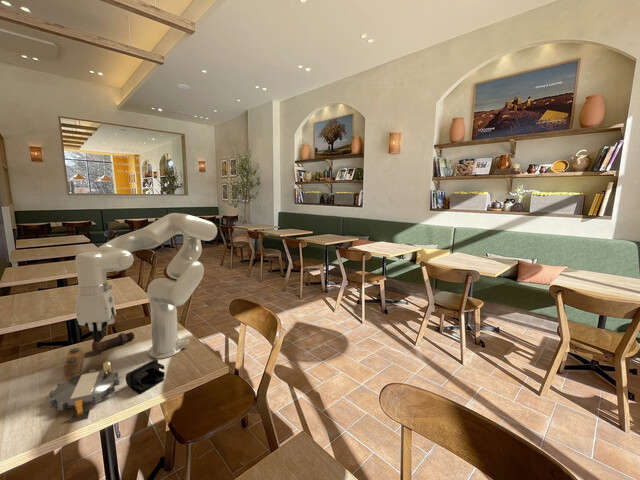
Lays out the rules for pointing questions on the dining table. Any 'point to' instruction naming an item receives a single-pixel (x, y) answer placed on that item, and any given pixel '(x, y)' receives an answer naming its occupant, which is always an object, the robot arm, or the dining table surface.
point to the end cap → (145, 377)
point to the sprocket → (84, 388)
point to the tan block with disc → (73, 363)
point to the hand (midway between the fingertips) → (98, 339)
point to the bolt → (112, 342)
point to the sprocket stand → (80, 413)
